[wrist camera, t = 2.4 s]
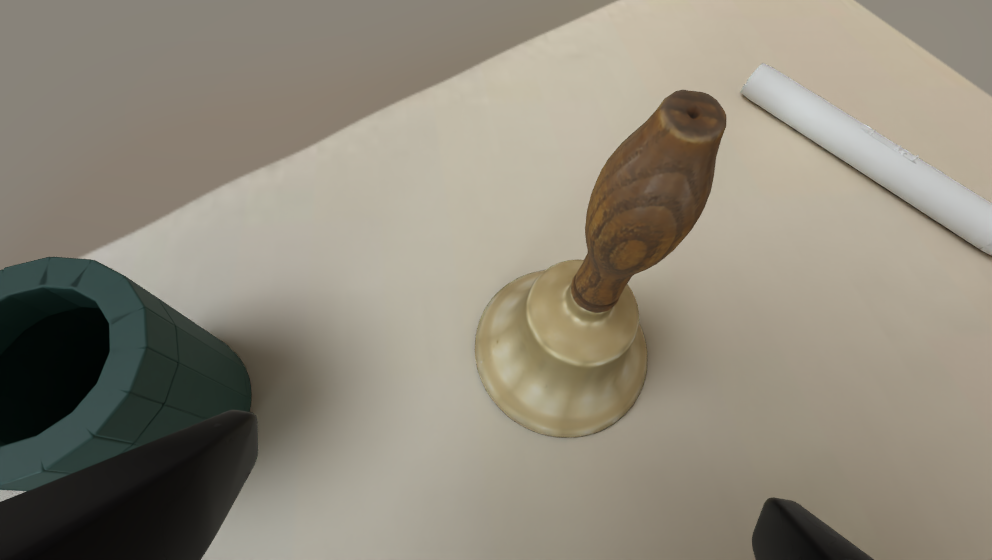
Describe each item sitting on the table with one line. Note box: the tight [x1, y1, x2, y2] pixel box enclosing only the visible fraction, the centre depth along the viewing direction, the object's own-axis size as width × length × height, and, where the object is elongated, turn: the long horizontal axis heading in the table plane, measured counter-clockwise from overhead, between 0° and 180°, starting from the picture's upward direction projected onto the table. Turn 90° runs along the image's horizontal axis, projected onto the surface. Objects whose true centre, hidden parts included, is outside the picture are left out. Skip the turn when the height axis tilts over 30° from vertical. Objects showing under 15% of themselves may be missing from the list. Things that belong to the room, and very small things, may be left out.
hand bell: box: [475, 90, 726, 437], centre depth 17 cm, size 8×8×16 cm
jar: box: [0, 257, 251, 491], centre depth 18 cm, size 7×7×8 cm
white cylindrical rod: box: [740, 63, 992, 255], centre depth 28 cm, size 18×2×2 cm, turn 45°
